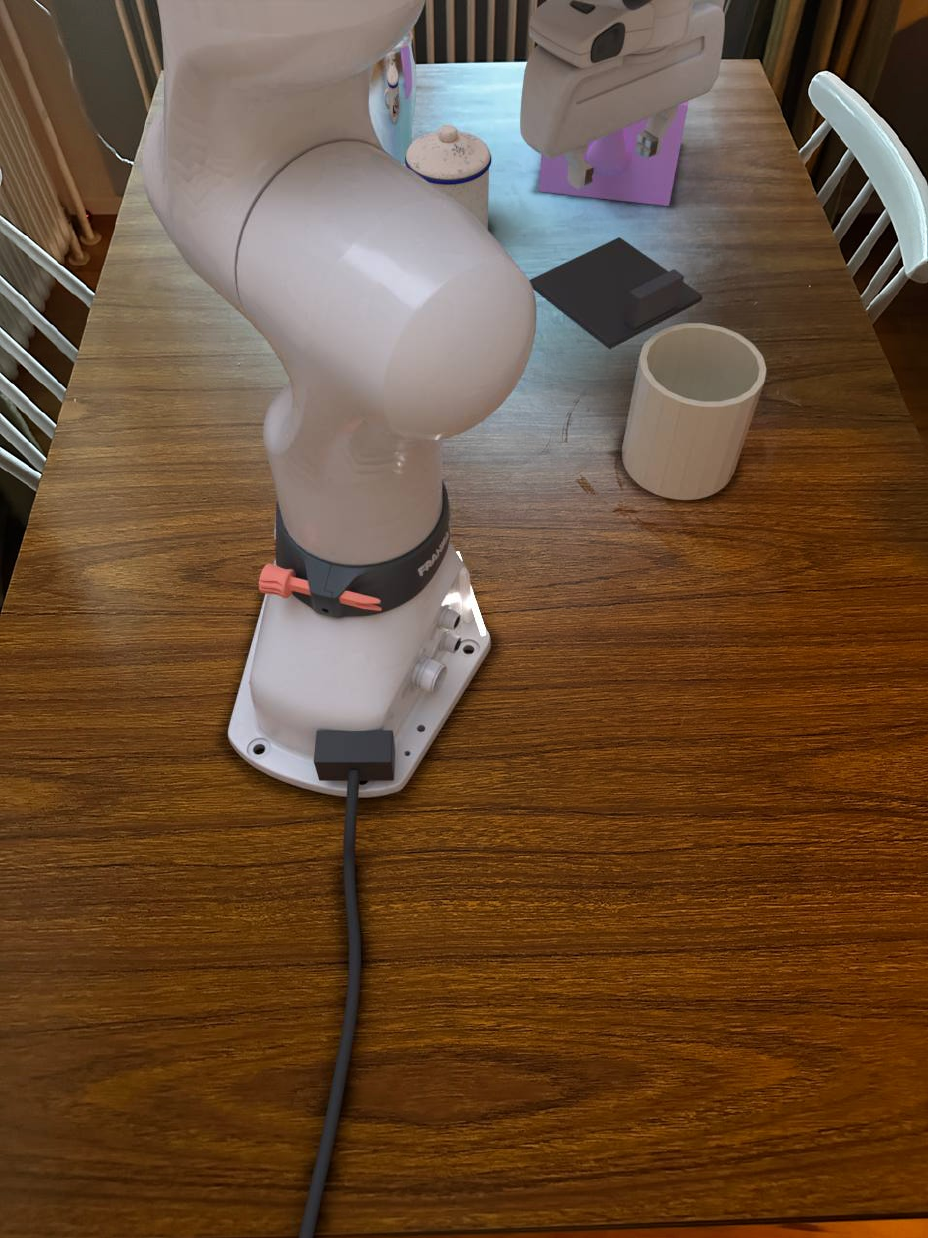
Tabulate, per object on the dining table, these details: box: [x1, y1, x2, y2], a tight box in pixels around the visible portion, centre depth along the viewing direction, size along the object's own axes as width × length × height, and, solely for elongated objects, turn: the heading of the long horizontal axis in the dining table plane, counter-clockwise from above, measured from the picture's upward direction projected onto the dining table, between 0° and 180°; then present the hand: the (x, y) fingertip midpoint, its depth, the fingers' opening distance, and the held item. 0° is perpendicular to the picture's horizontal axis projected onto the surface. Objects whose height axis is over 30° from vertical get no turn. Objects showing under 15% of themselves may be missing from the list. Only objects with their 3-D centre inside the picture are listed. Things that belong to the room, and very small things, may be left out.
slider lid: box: [529, 236, 703, 350], centre depth 81 cm, size 11×11×4 cm
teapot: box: [538, 100, 690, 207], centre depth 108 cm, size 15×25×14 cm, turn 169°
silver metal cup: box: [369, 30, 418, 165], centre depth 108 cm, size 7×7×15 cm
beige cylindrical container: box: [621, 322, 768, 501], centre depth 82 cm, size 10×10×11 cm
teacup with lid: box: [404, 124, 492, 231], centre depth 102 cm, size 12×9×12 cm
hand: (613, 168), depth 87 cm, fingers open, 7 cm apart
